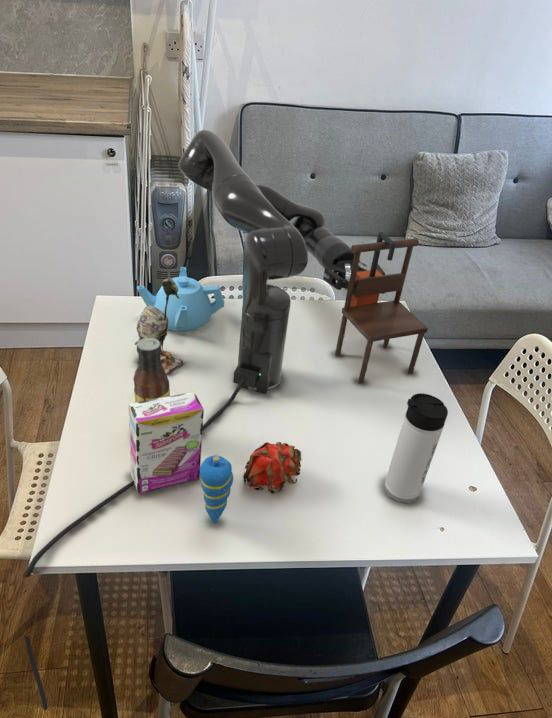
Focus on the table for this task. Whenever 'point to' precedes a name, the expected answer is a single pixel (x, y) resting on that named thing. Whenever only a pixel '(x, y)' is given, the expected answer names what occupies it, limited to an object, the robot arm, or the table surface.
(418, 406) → the travel mug
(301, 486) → the table surface
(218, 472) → the ornament
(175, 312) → the teapot
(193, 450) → the candy bar box
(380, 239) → the orange open padlock
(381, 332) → the chair
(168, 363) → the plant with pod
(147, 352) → the sauce bottle
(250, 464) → the dragon fruit
